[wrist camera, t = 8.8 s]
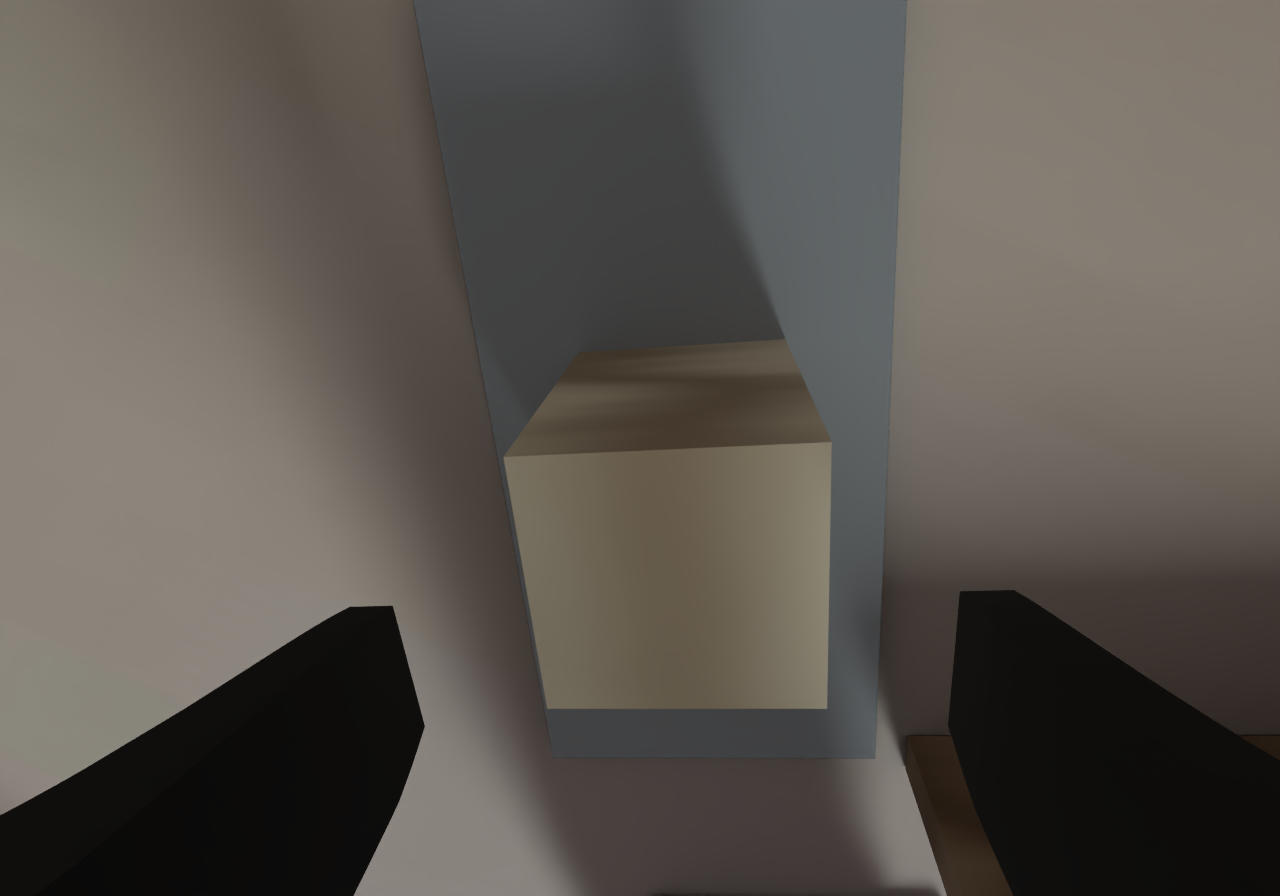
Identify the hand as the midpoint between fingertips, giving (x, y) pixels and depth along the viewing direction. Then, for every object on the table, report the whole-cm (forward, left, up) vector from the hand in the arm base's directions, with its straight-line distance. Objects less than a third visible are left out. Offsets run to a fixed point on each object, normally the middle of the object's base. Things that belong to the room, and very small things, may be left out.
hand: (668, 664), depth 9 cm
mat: (0, 0, -8) cm, 8 cm away
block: (0, 0, -8) cm, 8 cm away
